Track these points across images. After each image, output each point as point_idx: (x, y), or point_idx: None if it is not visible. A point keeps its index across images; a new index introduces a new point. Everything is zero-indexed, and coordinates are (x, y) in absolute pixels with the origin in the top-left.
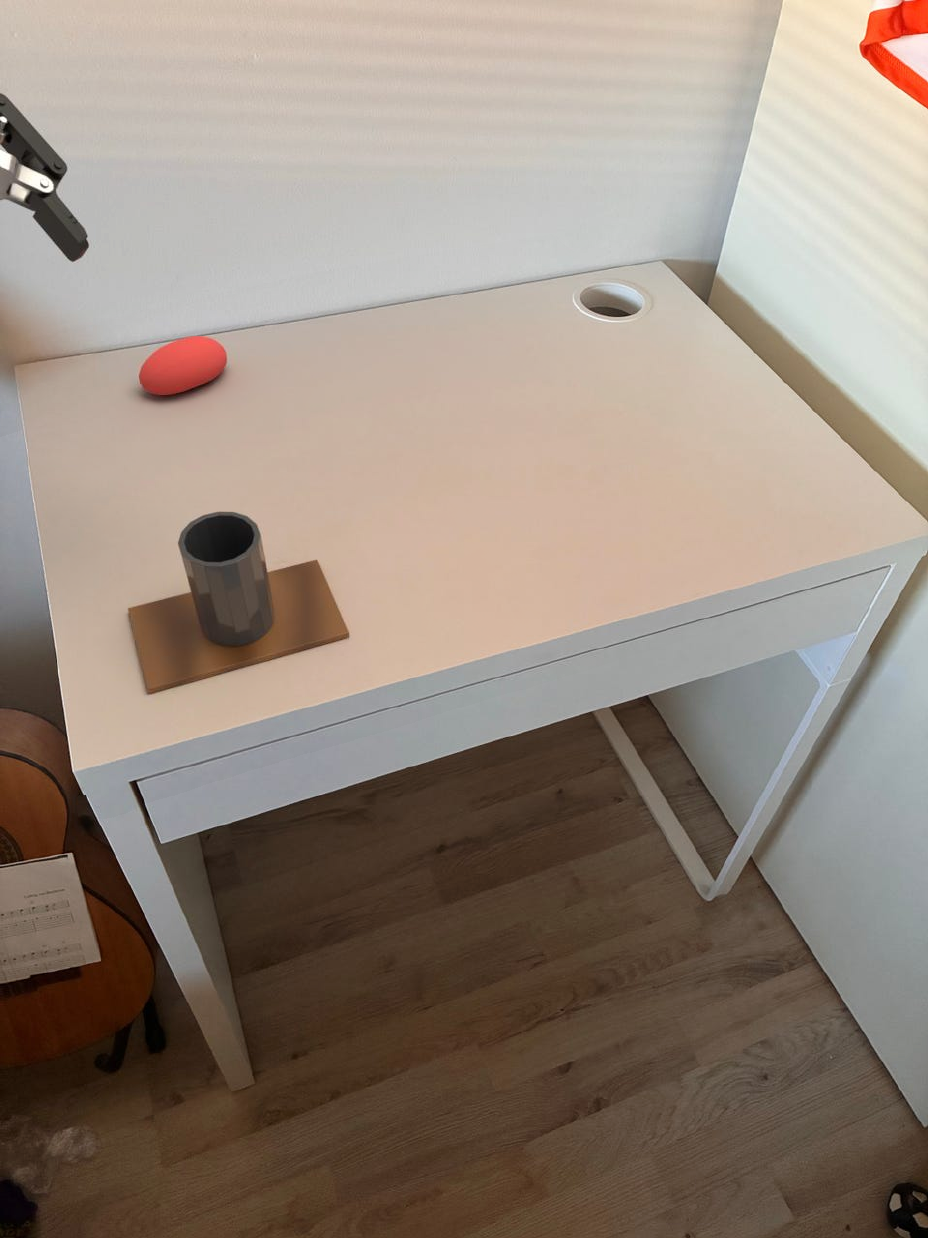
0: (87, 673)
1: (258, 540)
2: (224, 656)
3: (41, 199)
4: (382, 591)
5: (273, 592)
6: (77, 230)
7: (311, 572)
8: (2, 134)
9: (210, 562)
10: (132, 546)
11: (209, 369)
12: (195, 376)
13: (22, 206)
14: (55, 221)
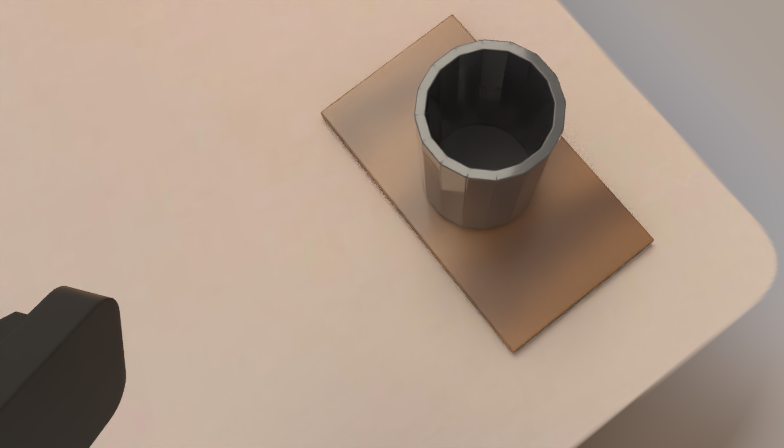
0: (648, 353)
1: (472, 43)
2: (555, 160)
3: None
4: (350, 8)
5: (409, 146)
6: (30, 323)
7: (350, 109)
8: None
9: (553, 95)
10: (367, 428)
11: None
12: None
13: None
14: (11, 434)
